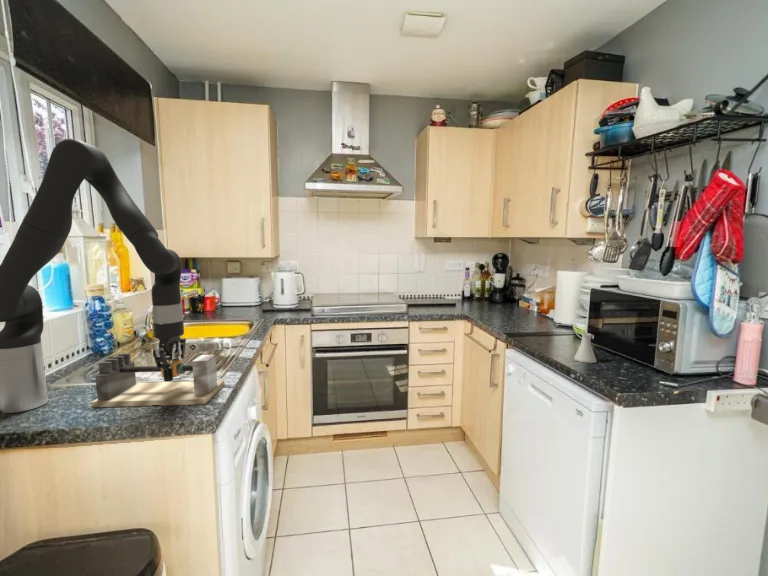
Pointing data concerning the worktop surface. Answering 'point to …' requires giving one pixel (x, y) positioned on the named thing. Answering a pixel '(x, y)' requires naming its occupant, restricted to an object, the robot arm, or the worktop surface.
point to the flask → (585, 350)
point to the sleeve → (174, 368)
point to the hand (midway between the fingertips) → (172, 377)
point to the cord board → (154, 384)
